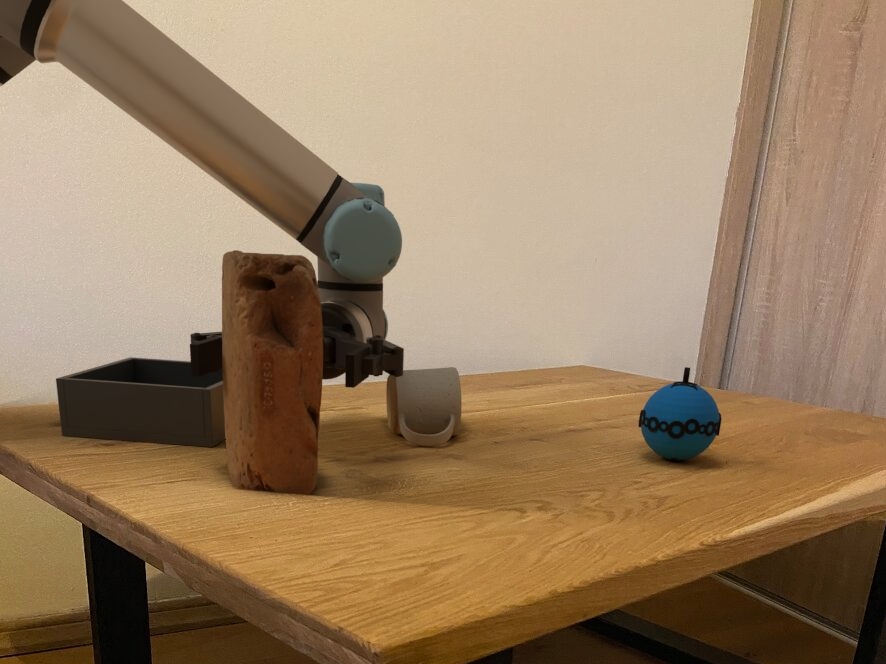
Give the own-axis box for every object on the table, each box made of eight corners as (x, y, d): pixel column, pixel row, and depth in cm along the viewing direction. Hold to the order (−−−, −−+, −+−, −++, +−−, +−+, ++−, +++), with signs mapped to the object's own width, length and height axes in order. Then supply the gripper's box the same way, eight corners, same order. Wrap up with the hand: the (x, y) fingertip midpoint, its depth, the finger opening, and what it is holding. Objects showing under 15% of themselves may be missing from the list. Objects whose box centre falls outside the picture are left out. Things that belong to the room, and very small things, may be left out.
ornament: (712, 473, 97) (728, 376, 94) (630, 463, 99) (642, 368, 96) (715, 456, 105) (730, 366, 101) (639, 447, 107) (650, 359, 103)
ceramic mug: (383, 426, 111) (385, 361, 108) (451, 427, 112) (454, 362, 109) (393, 448, 101) (395, 377, 98) (466, 449, 102) (471, 378, 99)
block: (223, 474, 87) (213, 247, 79) (301, 471, 90) (299, 250, 82) (244, 507, 78) (235, 253, 70) (331, 502, 80) (331, 256, 73)
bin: (61, 435, 98) (55, 378, 96) (134, 406, 115) (130, 357, 112) (212, 447, 97) (210, 389, 95) (264, 416, 113) (263, 366, 111)
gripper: (444, 382, 99) (414, 420, 79) (218, 367, 101) (134, 399, 82) (447, 309, 96) (417, 329, 77) (215, 295, 98) (128, 311, 79)
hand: (271, 365), depth 79 cm, fingers open, 13 cm apart
